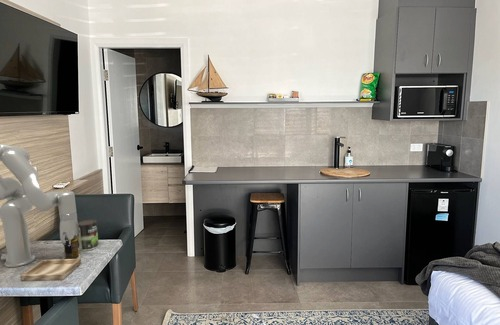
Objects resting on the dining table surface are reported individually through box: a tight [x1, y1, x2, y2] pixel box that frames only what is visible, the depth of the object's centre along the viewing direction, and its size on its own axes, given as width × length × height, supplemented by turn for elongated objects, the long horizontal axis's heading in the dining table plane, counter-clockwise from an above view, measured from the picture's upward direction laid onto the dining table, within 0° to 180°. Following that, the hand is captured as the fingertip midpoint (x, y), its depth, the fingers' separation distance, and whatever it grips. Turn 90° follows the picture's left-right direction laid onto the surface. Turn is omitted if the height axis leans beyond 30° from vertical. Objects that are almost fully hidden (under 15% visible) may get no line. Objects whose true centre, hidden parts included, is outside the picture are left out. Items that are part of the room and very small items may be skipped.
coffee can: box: [78, 219, 100, 252], centre depth 185 cm, size 10×10×14 cm
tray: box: [20, 258, 82, 282], centre depth 158 cm, size 18×16×2 cm
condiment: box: [63, 235, 82, 260], centre depth 172 cm, size 7×8×12 cm
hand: (72, 250), depth 173 cm, fingers closed on condiment, 6 cm apart
